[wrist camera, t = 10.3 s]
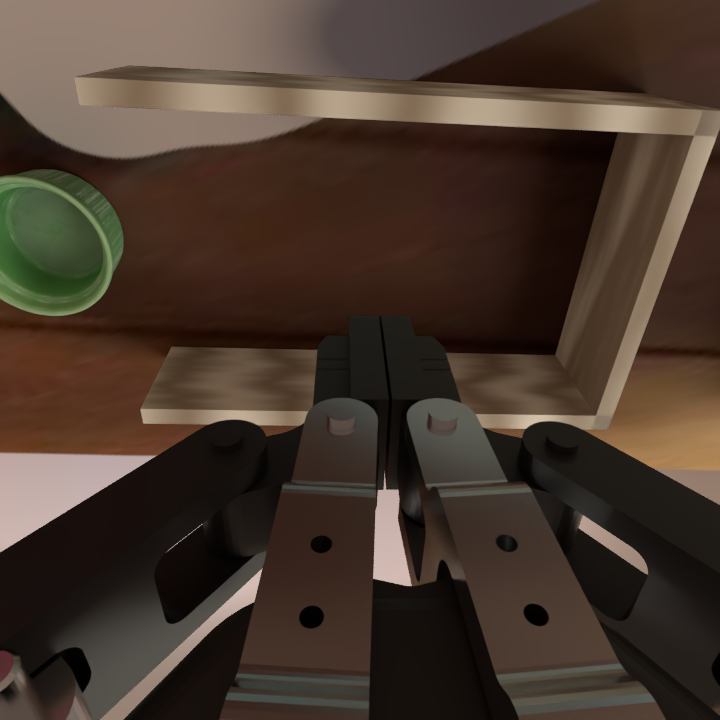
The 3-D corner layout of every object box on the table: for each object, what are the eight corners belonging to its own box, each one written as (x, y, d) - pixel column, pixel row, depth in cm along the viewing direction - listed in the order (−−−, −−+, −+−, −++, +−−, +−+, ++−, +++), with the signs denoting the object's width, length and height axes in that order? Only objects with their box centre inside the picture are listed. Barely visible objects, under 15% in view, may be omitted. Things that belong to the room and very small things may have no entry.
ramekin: (76, 311, 40) (50, 340, 37) (-36, 215, 36) (-78, 238, 33) (160, 240, 38) (142, 264, 34) (51, 129, 34) (16, 142, 30)
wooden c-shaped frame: (647, 93, 34) (726, 111, 27) (566, 368, 45) (607, 429, 38) (129, 65, 32) (74, 77, 25) (173, 359, 43) (143, 423, 36)
